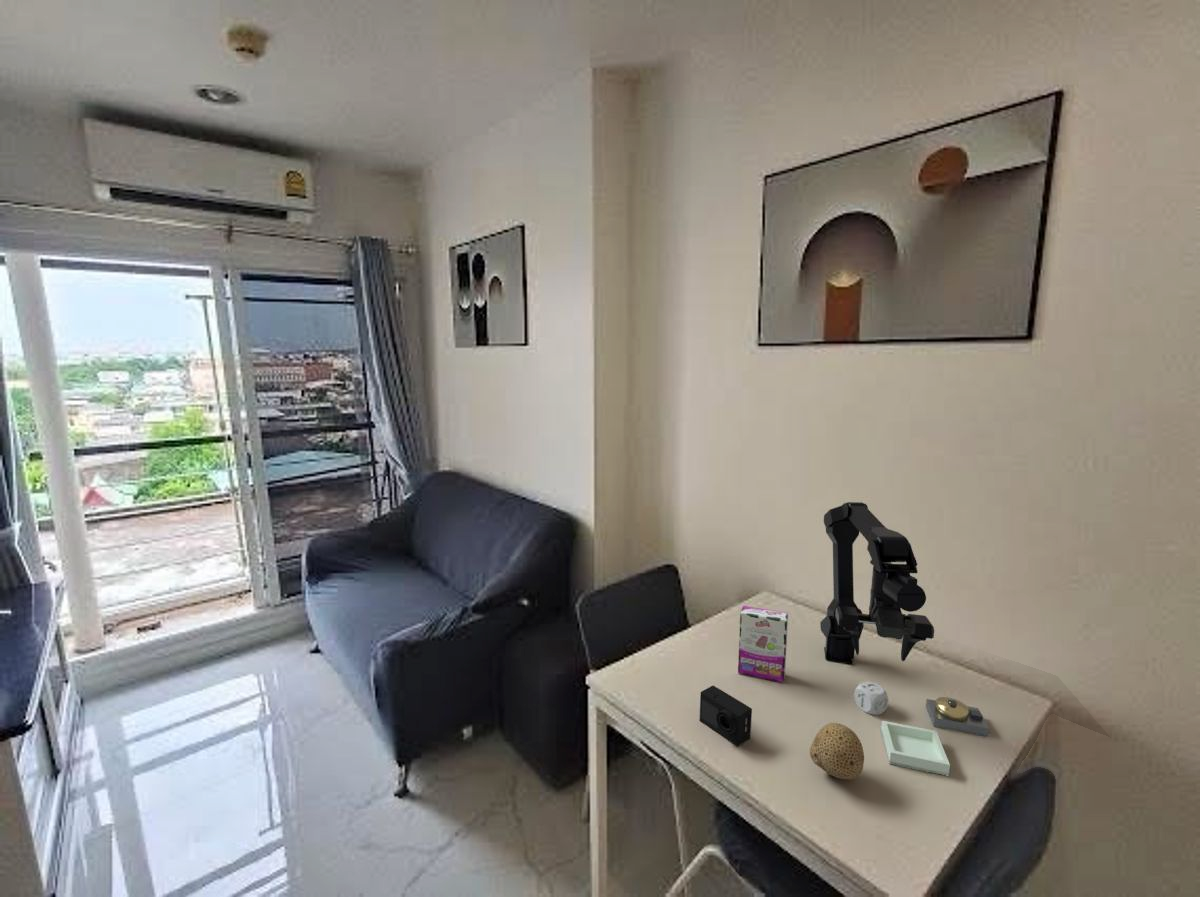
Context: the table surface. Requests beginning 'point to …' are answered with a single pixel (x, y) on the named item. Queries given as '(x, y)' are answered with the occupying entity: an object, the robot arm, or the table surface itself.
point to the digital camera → (725, 715)
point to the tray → (914, 748)
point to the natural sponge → (838, 751)
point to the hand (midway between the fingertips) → (879, 657)
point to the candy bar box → (763, 643)
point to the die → (871, 698)
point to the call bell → (956, 716)
